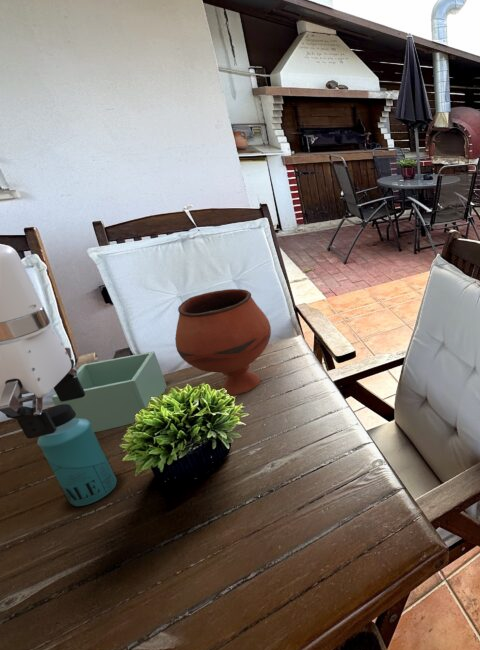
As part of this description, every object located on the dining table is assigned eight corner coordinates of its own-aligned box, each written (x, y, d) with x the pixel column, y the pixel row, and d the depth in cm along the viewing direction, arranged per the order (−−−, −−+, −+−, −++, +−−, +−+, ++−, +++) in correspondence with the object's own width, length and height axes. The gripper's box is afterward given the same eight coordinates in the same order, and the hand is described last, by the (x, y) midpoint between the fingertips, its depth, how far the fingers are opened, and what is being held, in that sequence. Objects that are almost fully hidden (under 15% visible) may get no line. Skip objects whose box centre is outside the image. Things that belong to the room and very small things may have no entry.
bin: (71, 438, 87) (51, 397, 83) (98, 401, 99) (82, 364, 95) (150, 419, 93) (134, 380, 89) (167, 386, 104) (154, 351, 100)
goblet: (183, 390, 103) (153, 302, 94) (263, 357, 117) (243, 278, 108) (211, 421, 92) (179, 326, 83) (294, 381, 106) (275, 296, 98)
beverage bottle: (116, 477, 78) (76, 392, 71) (125, 494, 74) (85, 407, 67) (68, 501, 73) (21, 412, 66) (76, 521, 69) (26, 429, 62)
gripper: (13, 308, 67) (56, 392, 73) (-70, 360, 52) (-7, 460, 58) (73, 299, 70) (109, 381, 76) (10, 346, 55) (62, 442, 61)
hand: (59, 415), depth 67 cm, fingers open, 9 cm apart
